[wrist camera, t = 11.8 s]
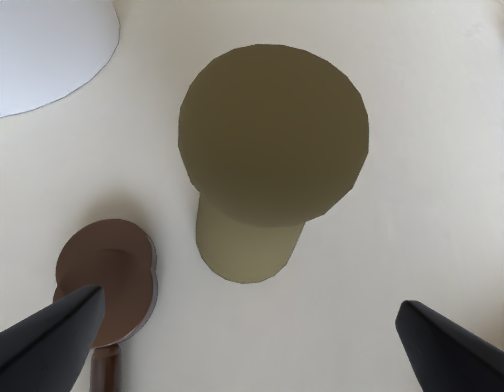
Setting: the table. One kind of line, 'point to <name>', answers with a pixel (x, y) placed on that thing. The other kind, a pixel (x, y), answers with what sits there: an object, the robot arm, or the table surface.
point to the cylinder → (52, 49)
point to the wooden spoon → (111, 288)
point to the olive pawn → (267, 153)
